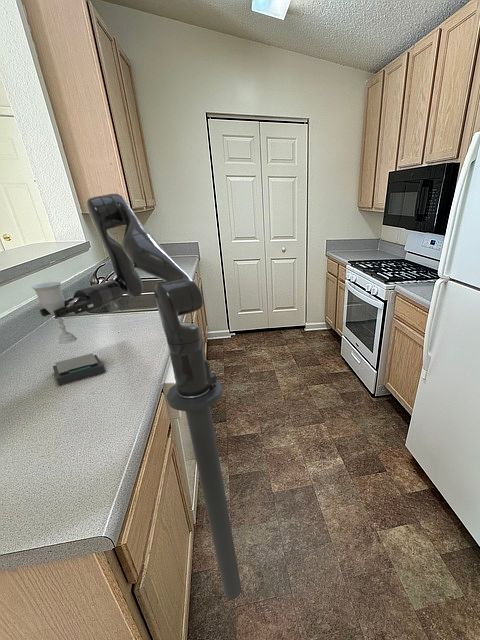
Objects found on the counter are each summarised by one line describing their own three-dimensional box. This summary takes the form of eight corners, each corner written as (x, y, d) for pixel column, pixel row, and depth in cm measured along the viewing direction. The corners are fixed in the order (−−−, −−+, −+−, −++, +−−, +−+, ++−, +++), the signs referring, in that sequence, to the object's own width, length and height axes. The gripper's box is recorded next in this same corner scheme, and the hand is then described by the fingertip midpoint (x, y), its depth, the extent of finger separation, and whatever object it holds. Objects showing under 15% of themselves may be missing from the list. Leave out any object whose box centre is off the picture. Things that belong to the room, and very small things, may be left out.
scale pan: (92, 354, 116) (92, 353, 116) (98, 363, 110) (97, 361, 110) (55, 364, 110) (55, 362, 110) (59, 374, 104) (58, 372, 103)
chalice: (73, 334, 110) (53, 280, 102) (85, 338, 107) (66, 283, 99) (49, 343, 104) (26, 286, 96) (62, 347, 101) (39, 289, 93)
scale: (98, 361, 118) (95, 353, 117) (105, 372, 111) (102, 363, 109) (55, 372, 111) (51, 364, 109) (59, 385, 103) (55, 376, 102)
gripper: (74, 285, 113) (25, 300, 99) (108, 287, 110) (62, 303, 95) (81, 306, 117) (35, 323, 102) (114, 309, 113) (71, 327, 99)
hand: (48, 313), depth 99 cm, fingers closed on chalice, 4 cm apart
